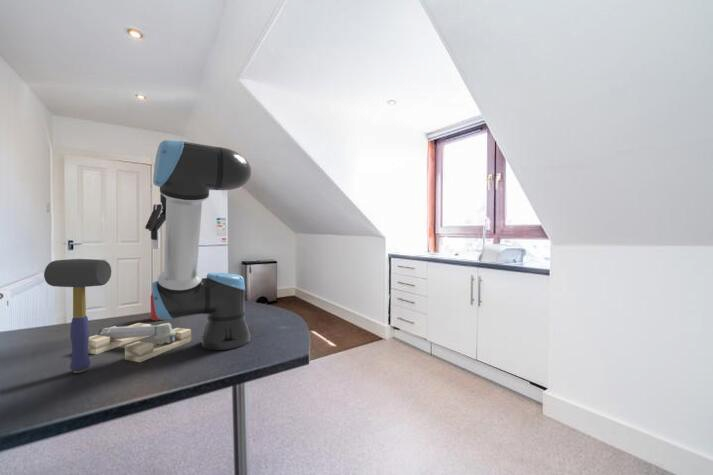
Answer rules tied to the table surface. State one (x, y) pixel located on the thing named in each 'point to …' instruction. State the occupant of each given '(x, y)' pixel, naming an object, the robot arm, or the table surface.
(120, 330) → the light grey long bar
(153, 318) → the beer can
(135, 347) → the v block cradle
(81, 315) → the rubber mallet
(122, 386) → the table surface
